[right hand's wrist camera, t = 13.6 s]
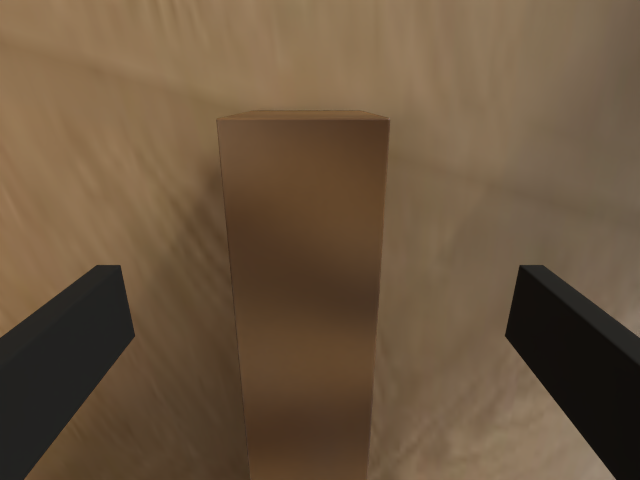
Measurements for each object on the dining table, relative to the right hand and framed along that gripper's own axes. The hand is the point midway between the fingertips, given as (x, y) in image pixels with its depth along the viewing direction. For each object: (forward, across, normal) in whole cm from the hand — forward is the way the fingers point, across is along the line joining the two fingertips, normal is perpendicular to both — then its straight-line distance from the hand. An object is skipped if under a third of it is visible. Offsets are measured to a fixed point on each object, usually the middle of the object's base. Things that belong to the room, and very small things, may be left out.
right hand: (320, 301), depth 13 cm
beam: (+8, -1, -21) cm, 22 cm away
